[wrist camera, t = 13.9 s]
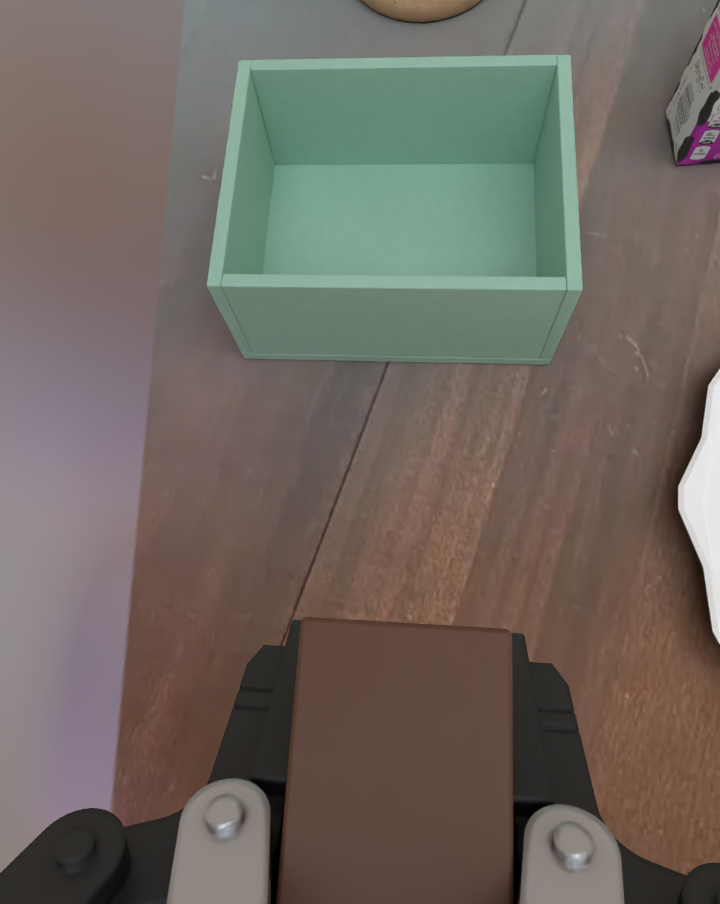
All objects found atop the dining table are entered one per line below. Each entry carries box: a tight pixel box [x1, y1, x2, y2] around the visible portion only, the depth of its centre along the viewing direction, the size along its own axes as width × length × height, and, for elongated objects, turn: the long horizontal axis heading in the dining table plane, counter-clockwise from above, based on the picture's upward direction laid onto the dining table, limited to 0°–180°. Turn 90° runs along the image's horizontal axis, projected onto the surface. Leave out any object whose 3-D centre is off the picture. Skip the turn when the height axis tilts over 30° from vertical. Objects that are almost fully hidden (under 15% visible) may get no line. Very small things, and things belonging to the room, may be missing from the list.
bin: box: [207, 55, 583, 365], centre depth 42 cm, size 20×16×9 cm
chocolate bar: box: [276, 617, 514, 904], centre depth 15 cm, size 3×5×12 cm, turn 176°
